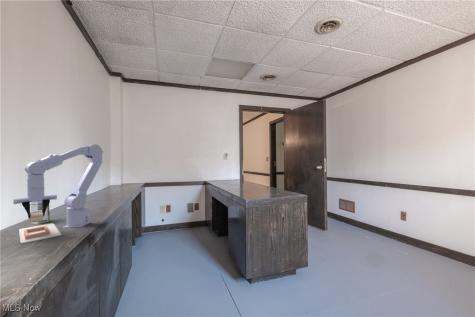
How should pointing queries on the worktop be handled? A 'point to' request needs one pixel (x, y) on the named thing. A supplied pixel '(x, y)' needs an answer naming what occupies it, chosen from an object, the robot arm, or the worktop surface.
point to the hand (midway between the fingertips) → (36, 217)
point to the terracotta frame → (36, 233)
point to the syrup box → (38, 207)
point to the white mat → (51, 227)
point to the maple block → (36, 216)
